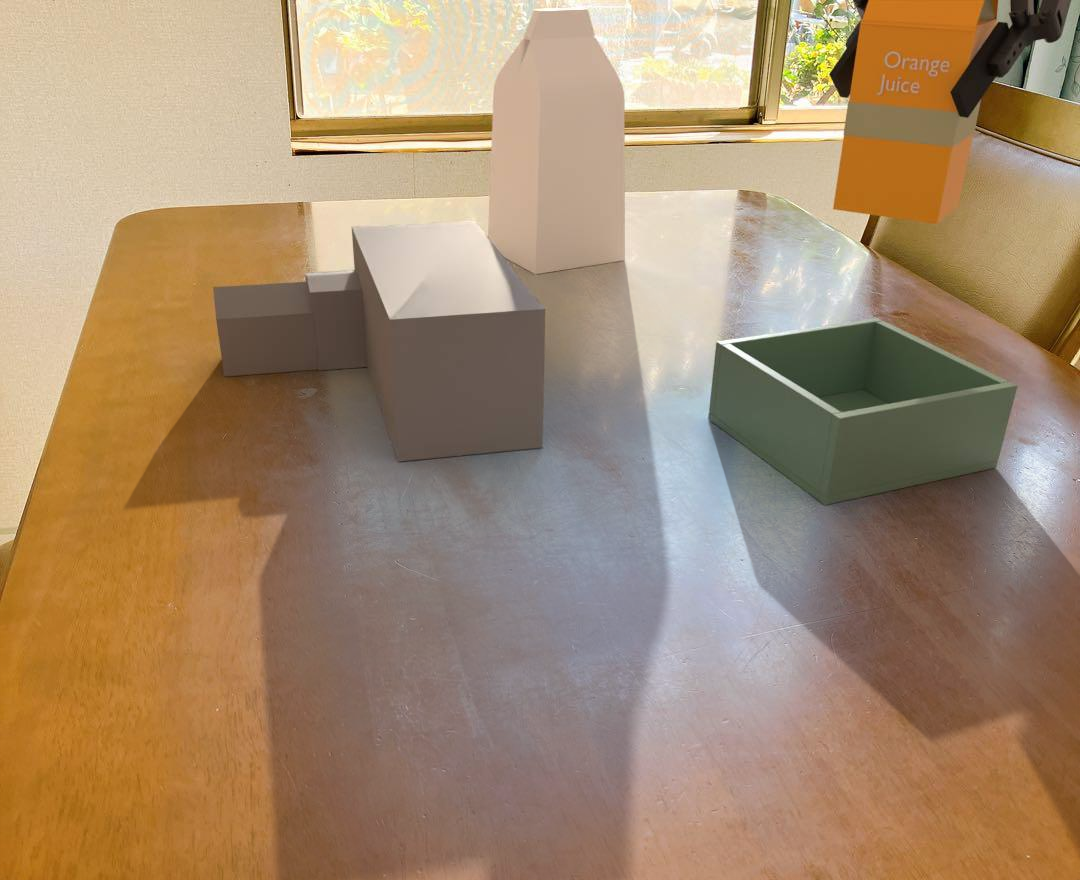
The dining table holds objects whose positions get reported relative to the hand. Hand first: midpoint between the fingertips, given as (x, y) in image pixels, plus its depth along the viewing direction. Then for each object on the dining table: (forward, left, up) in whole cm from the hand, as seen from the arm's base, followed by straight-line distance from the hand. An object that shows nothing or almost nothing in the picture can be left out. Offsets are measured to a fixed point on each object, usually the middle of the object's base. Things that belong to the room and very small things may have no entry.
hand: (895, 95), depth 86 cm
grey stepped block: (+9, +42, -23) cm, 49 cm away
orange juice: (+1, -3, -9) cm, 10 cm away
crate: (-13, +10, -23) cm, 28 cm away
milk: (+42, +10, -23) cm, 49 cm away
